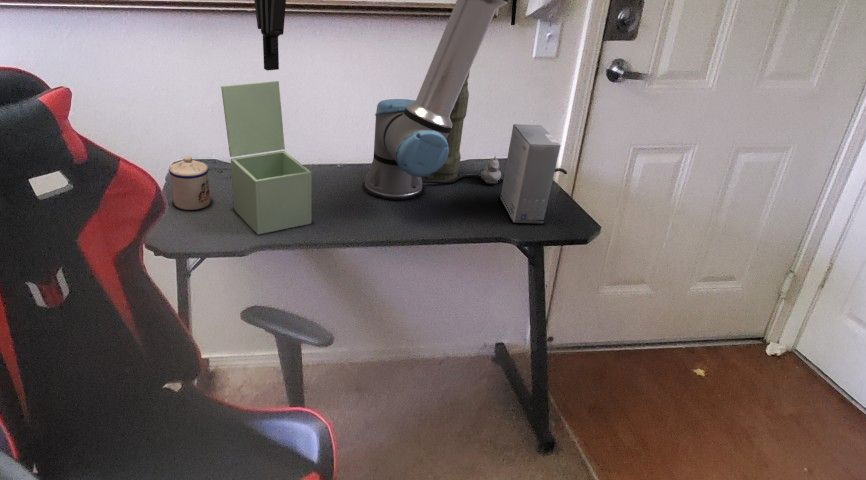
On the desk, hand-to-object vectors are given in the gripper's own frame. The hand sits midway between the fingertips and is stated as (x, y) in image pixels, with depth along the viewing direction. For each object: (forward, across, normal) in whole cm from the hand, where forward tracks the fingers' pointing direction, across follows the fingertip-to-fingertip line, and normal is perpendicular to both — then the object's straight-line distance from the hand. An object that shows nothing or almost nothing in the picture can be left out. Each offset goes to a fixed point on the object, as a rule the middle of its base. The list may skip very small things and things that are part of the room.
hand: (271, 69), depth 138 cm
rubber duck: (+35, +2, +63) cm, 72 cm away
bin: (+34, -2, 0) cm, 34 cm away
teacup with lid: (+35, -18, -14) cm, 41 cm away
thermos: (+35, -6, +53) cm, 64 cm away
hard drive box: (+35, +20, +58) cm, 71 cm away
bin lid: (+13, -10, 0) cm, 17 cm away
